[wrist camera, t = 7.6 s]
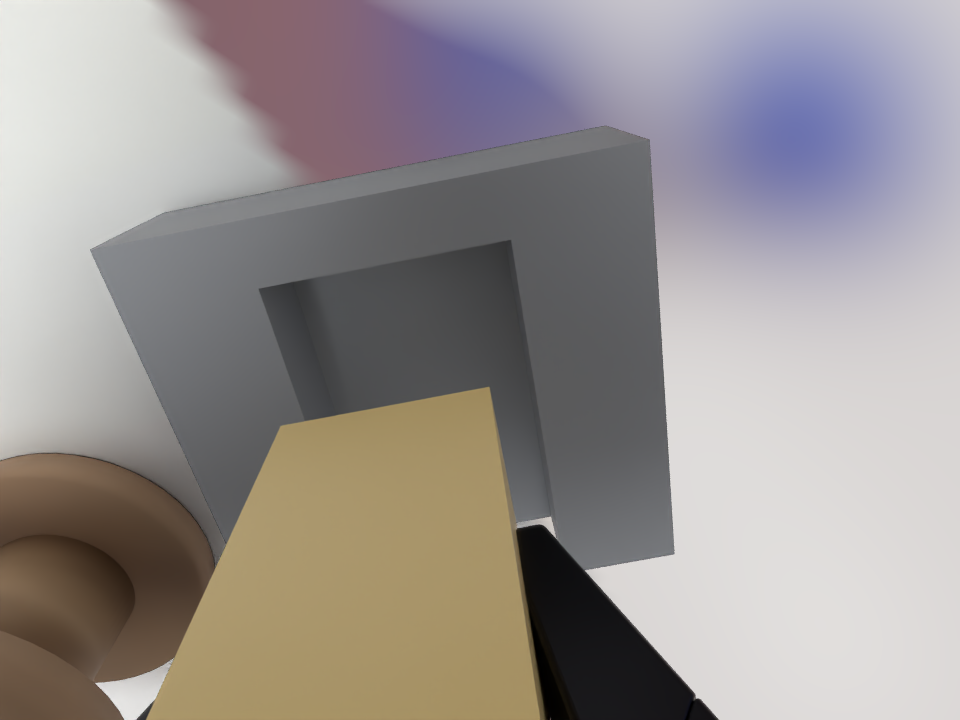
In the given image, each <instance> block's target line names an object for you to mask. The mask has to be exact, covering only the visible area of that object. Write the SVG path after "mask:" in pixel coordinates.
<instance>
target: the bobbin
mask: <svg viewBox="0 0 960 720" xmlns="http://www.w3.org/2000/svg"><path fill="white" fill-rule="evenodd" d="M214 570H215V565H214V560H213V555H212V551H211V549H210V546H209V544H208V541H207V539H206V537H205V535H204V533H203V532H202V530H201V528H200V526H199V525H198V524H197V522H196V521H195V520H194V518H193V517H192V516H191V514H190V513H189V512H188V511H187V510H186V509H185V508H184V507H183V506H182V505H181V504H180V503H179V502H178V501H177V500H176V499H174V498H173V497H172V496H171V495H169V494H168V493H167V492H166V491H164V490H163V489H161V488H160V487H158V486H157V485H155V484H154V483H152V482H151V481H149V480H147V479H145V478H143V477H141V476H139V475H138V474H136V473H134V472H132V471H129V470H127V469H124V468H122V467H119V466H117V465H114V464H111V463H107V462H104V461H100V460H97V459H93V458H87V457H82V456H77V455H67V454H32V455H24V456H17V457H13V458H9V459H5V460H1V461H0V720H124V719H123V717H122V715H121V713H120V711H119V710H118V709H117V708H116V706H115V705H114V704H113V702H112V701H111V700H110V698H109V697H108V696H107V695H106V694H105V693H104V692H103V691H102V690H101V689H100V688H99V687H98V686H97V685H96V684H95V683H98V682H109V681H117V680H123V679H127V678H131V677H135V676H138V675H141V674H144V673H147V672H150V671H152V670H154V669H156V668H158V667H160V666H162V665H163V664H165V663H166V662H168V661H170V660H171V659H173V658H174V657H175V656H176V653H177V651H178V649H179V647H180V645H181V642H182V640H183V638H184V636H185V634H186V632H187V629H188V627H189V625H190V623H191V621H192V618H193V616H194V614H195V612H196V610H197V608H198V605H199V603H200V601H201V599H202V597H203V594H204V592H205V590H206V588H207V586H208V584H209V581H210V579H211V577H212V575H213V573H214Z"/></svg>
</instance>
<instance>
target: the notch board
mask: <svg viewBox="0 0 960 720" xmlns="http://www.w3.org/2000/svg"><path fill="white" fill-rule="evenodd" d="M90 251H91V253H92V255H93V258H94V260H95V262H96V264H97V266H98V268H99V270H100V273H101V275H102V277H103V279H104V281H105V283H106V286H107V288H108V290H109V292H110V294H111V296H112V299H113V301H114V303H115V305H116V307H117V309H118V312H119V314H120V316H121V318H122V320H123V322H124V325H125V327H126V329H127V331H128V333H129V335H130V337H131V340H132V342H133V344H134V346H135V348H136V350H137V353H138V355H139V357H140V359H141V361H142V363H143V366H144V368H145V370H146V372H147V374H148V376H149V379H150V381H151V383H152V385H153V387H154V389H155V391H156V394H157V396H158V398H159V400H160V402H161V404H162V407H163V409H164V411H165V413H166V415H167V417H168V420H169V422H170V424H171V426H172V428H173V430H174V433H175V435H176V437H177V439H178V441H179V443H180V445H181V448H182V450H183V452H184V454H185V456H186V458H187V461H188V463H189V465H190V467H191V469H192V471H193V474H194V476H195V478H196V480H197V482H198V484H199V487H200V489H201V491H202V493H203V495H204V497H205V499H206V502H207V504H208V506H209V508H210V510H211V512H212V515H213V517H214V519H215V521H216V523H217V525H218V528H219V530H220V532H221V534H222V536H223V538H224V541H225V543H226V544H227V542H228V540H229V538H230V536H231V533H232V531H233V529H234V527H235V525H236V522H237V520H238V518H239V516H240V514H241V512H242V509H243V507H244V505H245V503H246V501H247V498H248V496H249V494H250V492H251V490H252V488H253V485H254V483H255V481H256V479H257V477H258V474H259V472H260V470H261V468H262V466H263V464H264V461H265V459H266V457H267V455H268V453H269V450H270V448H271V446H272V444H273V442H274V440H275V437H276V435H277V433H278V431H279V429H280V426H282V425H288V424H293V423H298V422H304V421H309V420H314V419H320V418H325V417H330V416H336V415H341V414H346V413H352V412H357V411H362V410H368V409H373V408H378V407H384V406H389V405H395V404H400V403H405V402H411V401H416V400H421V399H427V398H432V397H437V396H443V395H448V394H453V393H459V392H464V391H469V390H475V389H480V388H485V387H490V392H491V397H492V402H493V408H494V413H495V418H496V423H497V428H498V433H499V438H500V443H501V448H502V453H503V458H504V463H505V468H506V473H507V479H508V484H509V489H510V494H511V499H512V504H513V509H514V514H515V519H516V523H517V522H523V521H528V520H534V519H539V518H545V517H550V516H551V518H552V522H553V526H554V530H555V534H556V538H557V540H558V542H559V543H560V544H561V545H562V546H563V547H564V548H565V549H566V550H567V552H568V553H569V554H570V555H571V556H572V557H573V558H574V559H575V561H576V562H577V563H578V564H579V565H580V566H581V567H582V568H583V569H584V570H589V569H594V568H600V567H605V566H611V565H617V564H622V563H628V562H633V561H639V560H644V559H650V558H655V557H661V556H667V555H673V554H674V539H673V522H672V506H671V489H670V473H669V455H668V440H667V439H668V438H667V422H666V406H665V390H664V372H663V355H662V339H661V323H660V308H659V307H660V306H659V289H658V273H657V257H656V239H655V223H654V206H653V190H652V173H651V157H650V140H649V139H646V138H643V137H640V136H636V135H633V134H630V133H627V132H624V131H621V130H618V129H615V128H612V127H609V126H601V127H596V128H591V129H586V130H581V131H576V132H571V133H566V134H561V135H556V136H551V137H546V138H540V139H536V140H530V141H525V142H520V143H515V144H510V145H505V146H500V147H495V148H490V149H485V150H480V151H475V152H470V153H465V154H460V155H454V156H449V157H444V158H440V159H434V160H429V161H424V162H419V163H414V164H409V165H404V166H399V167H394V168H389V169H383V170H378V171H373V172H368V173H363V174H358V175H354V176H348V177H343V178H338V179H333V180H328V181H323V182H318V183H313V184H308V185H303V186H297V187H292V188H287V189H282V190H277V191H272V192H267V193H262V194H257V195H252V196H247V197H242V198H237V199H232V200H227V201H222V202H216V203H211V204H206V205H201V206H196V207H191V208H186V209H181V210H176V211H171V212H166V213H162V214H160V215H158V216H156V217H154V218H152V219H150V220H148V221H146V222H144V223H142V224H140V225H138V226H136V227H134V228H132V229H130V230H128V231H126V232H124V233H122V234H120V235H118V236H116V237H114V238H112V239H110V240H108V241H106V242H104V243H102V244H100V245H98V246H96V247H94V248H92V249H90Z"/></svg>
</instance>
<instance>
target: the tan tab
mask: <svg viewBox="0 0 960 720" xmlns="http://www.w3.org/2000/svg"><path fill="white" fill-rule="evenodd" d="M516 529H517V524H516V519H515V514H514V509H513V504H512V499H511V494H510V489H509V484H508V479H507V473H506V468H505V463H504V458H503V453H502V448H501V443H500V438H499V433H498V428H497V423H496V418H495V413H494V408H493V402H492V397H491V392H490V387H485V388H480V389H475V390H469V391H464V392H459V393H453V394H448V395H443V396H437V397H432V398H427V399H421V400H416V401H411V402H405V403H400V404H395V405H389V406H384V407H378V408H373V409H368V410H362V411H357V412H352V413H346V414H341V415H336V416H330V417H325V418H320V419H314V420H309V421H304V422H298V423H293V424H288V425H282V426H280V429H279V431H278V433H277V435H276V437H275V440H274V442H273V444H272V446H271V448H270V450H269V453H268V455H267V457H266V459H265V461H264V464H263V466H262V468H261V470H260V472H259V474H258V477H257V479H256V481H255V483H254V485H253V488H252V490H251V492H250V494H249V496H248V498H247V501H246V503H245V505H244V507H243V509H242V512H241V514H240V516H239V518H238V520H237V522H236V525H235V527H234V529H233V531H232V533H231V536H230V538H229V540H228V542H227V544H226V546H225V549H224V551H223V553H222V555H221V557H220V560H219V562H218V564H217V566H216V568H215V570H214V573H213V575H212V577H211V579H210V581H209V584H208V586H207V588H206V590H205V592H204V594H203V597H202V599H201V601H200V603H199V605H198V608H197V610H196V612H195V614H194V616H193V618H192V621H191V623H190V625H189V627H188V629H187V632H186V634H185V636H184V638H183V640H182V642H181V645H180V647H179V649H178V651H177V653H176V656H175V658H174V660H173V662H172V664H171V666H170V669H169V671H168V673H167V675H166V677H165V679H164V682H163V684H162V686H161V688H160V690H159V693H158V695H157V697H156V699H155V701H154V703H153V706H152V708H151V710H150V712H149V714H148V717H147V719H146V720H551V718H550V715H549V710H548V705H547V700H546V695H545V690H544V685H543V680H542V675H541V670H540V665H539V660H538V655H537V650H536V645H535V640H534V635H533V630H532V625H531V620H530V616H529V611H528V605H527V599H526V593H525V586H524V580H523V573H522V567H521V560H520V554H519V547H518V541H517V534H516Z"/></svg>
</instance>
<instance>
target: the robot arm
mask: <svg viewBox="0 0 960 720" xmlns="http://www.w3.org/2000/svg"><path fill="white" fill-rule="evenodd" d="M516 534H517V541H518V547H519V554H520V560H521V567H522V573H523V580H524V586H525V593H526V599H527V605H528V611H529V616H530V620H531V625H532V630H533V635H534V640H535V645H536V650H537V655H538V660H539V665H540V670H541V675H542V680H543V685H544V690H545V695H546V700H547V705H548V710H549V715H550V718H551V720H718V718H717V717H716V716H715V715H714V714H713V713H712V712H711V710H710V709H709V708H708V707H707V706H706V705H705V704H704V703H703V701H702V700H700V699H696V696H695V693H694V692H693V691H692V690H691V689H690V688H689V686H688V685H687V684H686V683H685V682H684V681H683V680H682V679H681V677H680V676H679V675H678V674H677V673H676V672H675V671H674V670H673V669H672V667H671V666H670V665H669V664H668V663H667V662H666V661H665V660H664V659H663V657H662V656H661V655H660V654H659V653H658V652H657V651H656V650H655V649H654V647H653V646H652V645H651V644H650V643H649V642H648V641H647V640H646V638H645V637H644V636H643V635H642V634H641V633H640V632H639V631H638V630H637V628H636V627H635V626H634V625H633V624H632V623H631V622H630V621H629V620H628V618H627V617H626V616H625V615H624V614H623V613H622V612H621V611H620V610H619V608H618V607H617V606H616V605H615V604H614V603H613V602H612V601H611V599H610V598H609V597H608V596H607V595H606V594H605V593H604V592H603V591H602V589H601V588H600V587H599V586H598V585H597V584H596V583H595V582H594V581H593V579H592V578H591V577H590V576H589V575H588V574H587V573H586V572H585V571H584V569H583V568H582V567H581V566H580V565H579V564H578V563H577V562H576V561H575V559H574V558H573V557H572V556H571V555H570V554H569V553H568V552H567V550H566V549H565V548H564V547H563V546H562V545H561V544H560V543H559V542H558V540H557V539H556V538H555V537H554V536H553V535H552V534H551V533H550V532H549V530H548V529H547V528H546V527H545V526H543V525H533V526H528V527H522V528H518V529H516ZM154 701H155V700H154ZM154 701H153V702H152V703H151V704H150V706H149V707H148V708H147V709H146V710H145V711H144V712H143V713H142V714H141V715H140V716H139V717H138V718H137V720H146V719H147V717H148V714H149V712H150V710H151V708H152V706H153V703H154Z"/></svg>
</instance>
